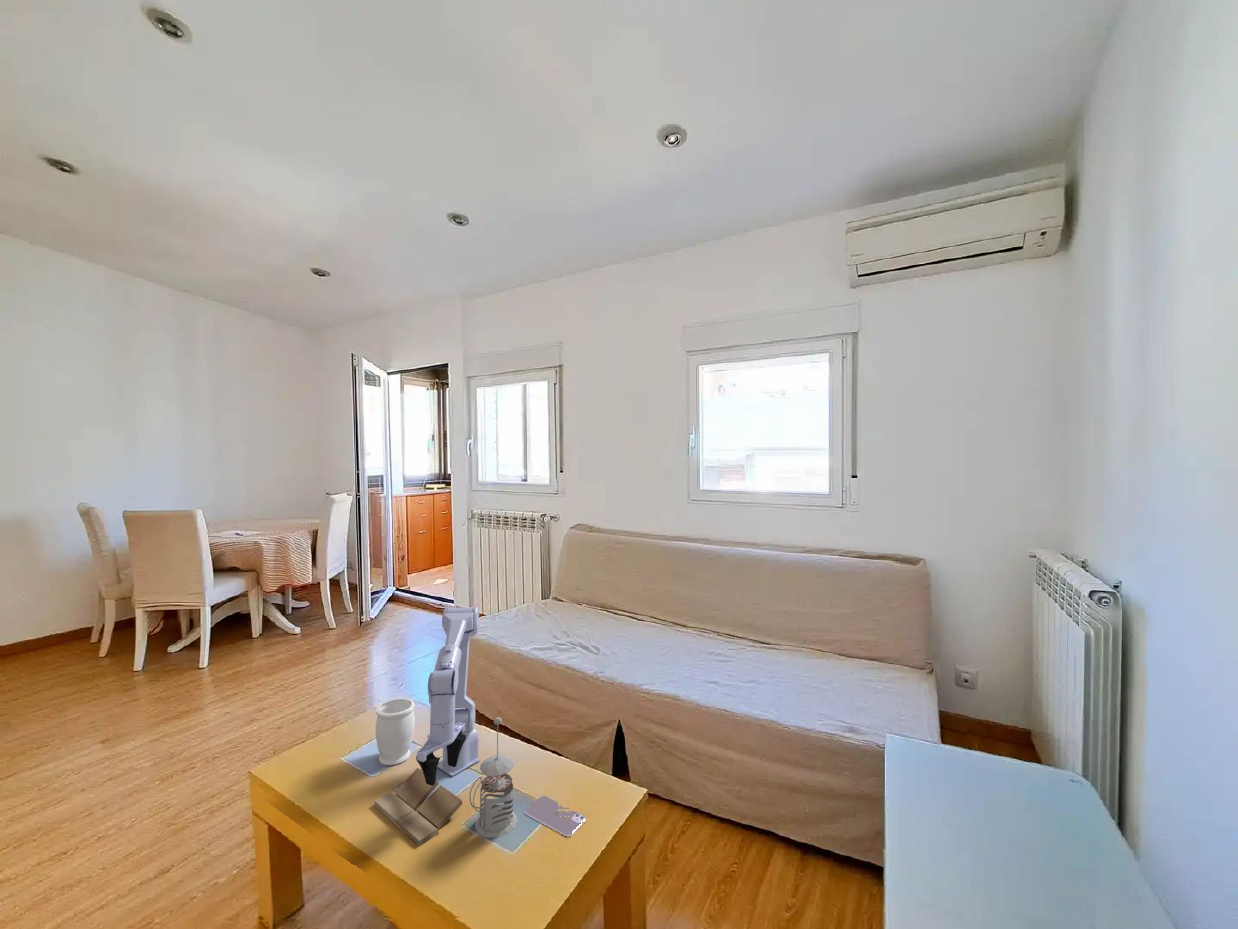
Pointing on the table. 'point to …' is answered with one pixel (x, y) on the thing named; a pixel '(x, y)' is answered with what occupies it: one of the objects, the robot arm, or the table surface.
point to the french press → (495, 816)
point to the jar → (395, 730)
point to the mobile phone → (555, 816)
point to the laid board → (406, 818)
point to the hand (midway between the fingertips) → (441, 774)
